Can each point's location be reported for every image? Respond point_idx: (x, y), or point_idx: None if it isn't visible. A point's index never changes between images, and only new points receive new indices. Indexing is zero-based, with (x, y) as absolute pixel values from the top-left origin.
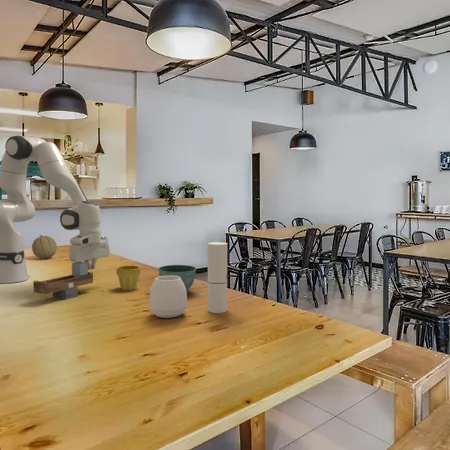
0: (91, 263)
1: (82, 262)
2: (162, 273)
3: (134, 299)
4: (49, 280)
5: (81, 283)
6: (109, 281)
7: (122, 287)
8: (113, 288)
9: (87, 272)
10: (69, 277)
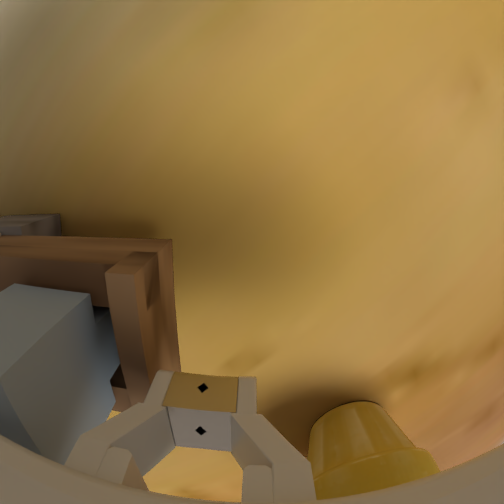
0: (241, 435)
1: (25, 446)
2: None
3: (205, 497)
4: None
5: None
6: (475, 216)
7: (310, 437)
8: (326, 374)
9: (108, 412)
10: (2, 285)
